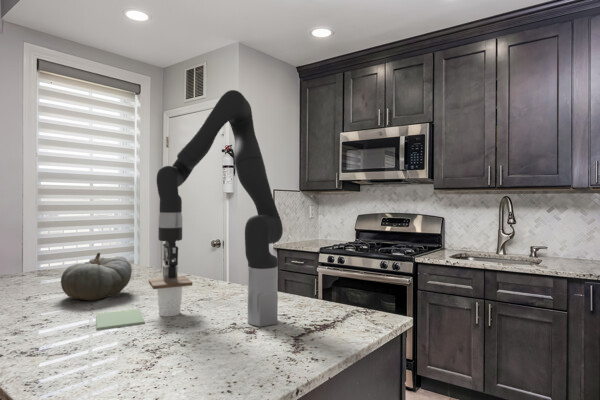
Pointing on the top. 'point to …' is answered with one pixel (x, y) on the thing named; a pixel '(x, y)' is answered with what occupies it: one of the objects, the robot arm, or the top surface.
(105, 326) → the mat
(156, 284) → the lid
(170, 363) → the top surface
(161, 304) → the white cup
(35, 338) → the top surface
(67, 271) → the gourd
